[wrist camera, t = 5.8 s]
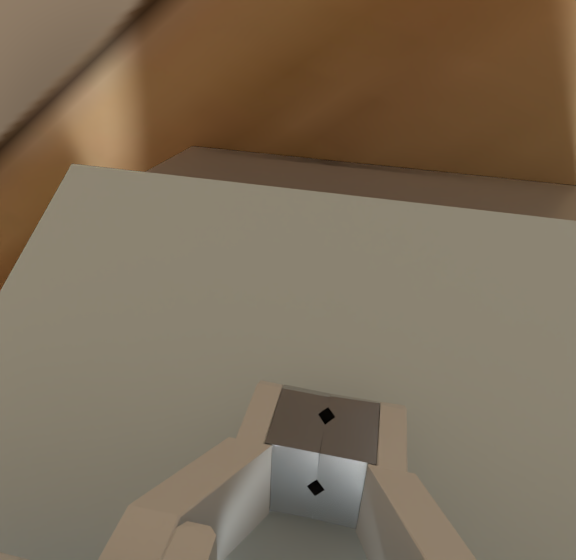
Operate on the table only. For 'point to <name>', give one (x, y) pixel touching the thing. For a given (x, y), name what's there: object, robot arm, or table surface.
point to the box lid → (283, 354)
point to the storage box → (376, 181)
